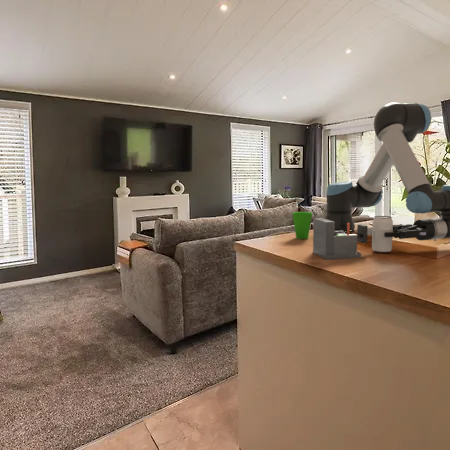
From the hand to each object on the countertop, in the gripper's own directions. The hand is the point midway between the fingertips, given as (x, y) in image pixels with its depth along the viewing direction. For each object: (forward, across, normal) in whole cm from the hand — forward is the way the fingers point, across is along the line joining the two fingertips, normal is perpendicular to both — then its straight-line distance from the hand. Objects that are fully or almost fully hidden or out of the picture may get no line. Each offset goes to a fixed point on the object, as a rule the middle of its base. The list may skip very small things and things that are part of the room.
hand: (368, 233), depth 122 cm
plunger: (+6, 0, -4) cm, 7 cm away
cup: (+12, +33, -7) cm, 36 cm away
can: (-5, 0, -7) cm, 8 cm away
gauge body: (+12, 0, -7) cm, 14 cm away
